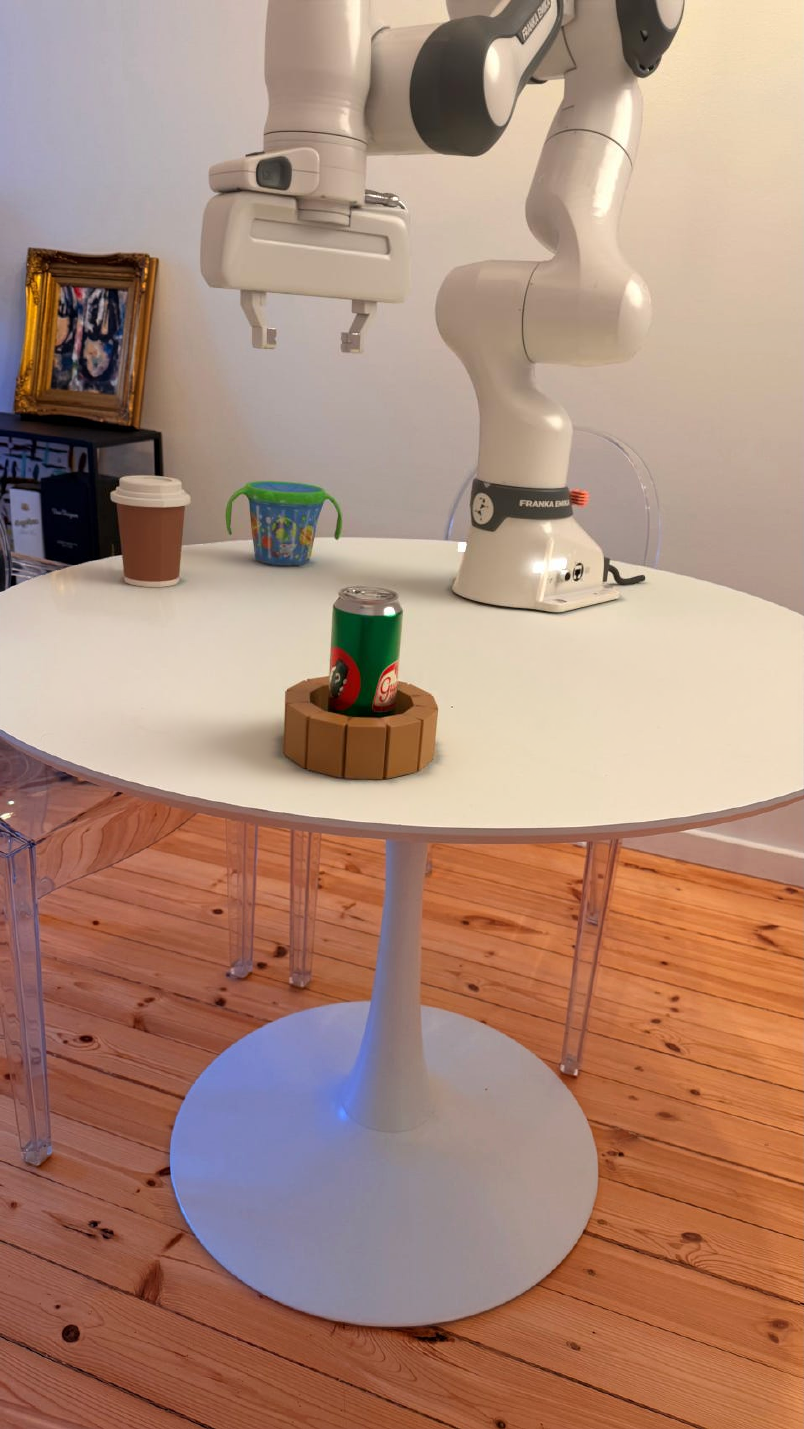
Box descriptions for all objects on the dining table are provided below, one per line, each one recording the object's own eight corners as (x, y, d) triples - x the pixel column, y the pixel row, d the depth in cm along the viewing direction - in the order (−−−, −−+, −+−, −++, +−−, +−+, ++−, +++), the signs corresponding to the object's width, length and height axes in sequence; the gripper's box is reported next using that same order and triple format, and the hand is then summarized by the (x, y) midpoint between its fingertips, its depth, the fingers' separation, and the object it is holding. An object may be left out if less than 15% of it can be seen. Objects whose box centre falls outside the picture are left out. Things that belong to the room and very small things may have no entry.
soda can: (384, 765, 72) (396, 605, 68) (317, 755, 73) (325, 596, 69) (398, 741, 77) (410, 589, 73) (335, 732, 78) (343, 581, 73)
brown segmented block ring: (376, 713, 82) (379, 668, 81) (462, 762, 74) (467, 711, 72) (256, 735, 76) (257, 686, 74) (335, 791, 67) (338, 736, 66)
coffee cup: (97, 583, 116) (94, 479, 112) (135, 569, 124) (133, 471, 120) (169, 593, 114) (169, 488, 110) (202, 578, 123) (203, 479, 119)
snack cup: (338, 556, 141) (342, 484, 138) (341, 573, 131) (346, 495, 128) (227, 550, 139) (228, 477, 136) (222, 566, 129) (223, 488, 126)
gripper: (389, 198, 94) (381, 353, 99) (190, 165, 82) (192, 344, 87) (431, 194, 89) (420, 357, 94) (226, 159, 77) (226, 348, 82)
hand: (309, 351), depth 90 cm, fingers open, 8 cm apart
